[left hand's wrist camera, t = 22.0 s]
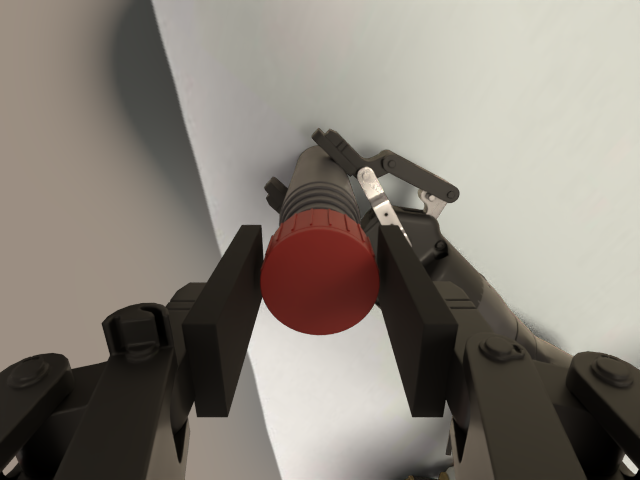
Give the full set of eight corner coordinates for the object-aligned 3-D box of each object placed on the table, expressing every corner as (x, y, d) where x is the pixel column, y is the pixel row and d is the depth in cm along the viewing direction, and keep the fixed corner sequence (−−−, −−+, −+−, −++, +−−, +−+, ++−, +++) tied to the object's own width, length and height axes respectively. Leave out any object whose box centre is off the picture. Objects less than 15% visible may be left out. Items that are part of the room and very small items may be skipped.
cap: (246, 245, 14) (233, 272, 12) (333, 185, 13) (335, 203, 11) (308, 318, 15) (306, 354, 13) (391, 268, 14) (403, 298, 12)
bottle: (289, 155, 31) (242, 243, 13) (334, 137, 31) (355, 202, 12) (306, 199, 33) (289, 336, 14) (350, 182, 32) (391, 302, 13)
